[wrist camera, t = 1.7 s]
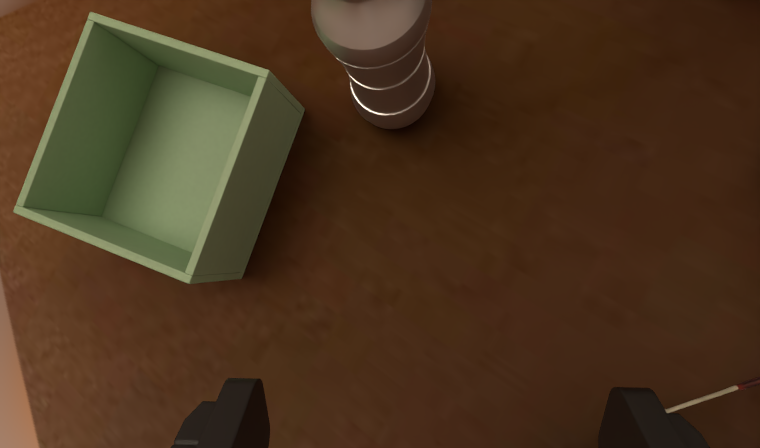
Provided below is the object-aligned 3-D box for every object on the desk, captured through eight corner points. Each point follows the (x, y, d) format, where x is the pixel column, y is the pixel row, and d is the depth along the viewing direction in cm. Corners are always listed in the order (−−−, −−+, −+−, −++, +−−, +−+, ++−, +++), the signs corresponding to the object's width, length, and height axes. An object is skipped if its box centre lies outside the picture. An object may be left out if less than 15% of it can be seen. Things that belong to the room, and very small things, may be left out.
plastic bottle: (340, 105, 41) (243, -42, 21) (391, 41, 40) (343, -167, 21) (400, 151, 40) (358, 45, 20) (452, 86, 40) (463, -86, 20)
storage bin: (159, 60, 43) (89, 11, 35) (305, 109, 41) (269, 70, 32) (98, 221, 43) (12, 212, 34) (242, 278, 41) (189, 284, 32)
